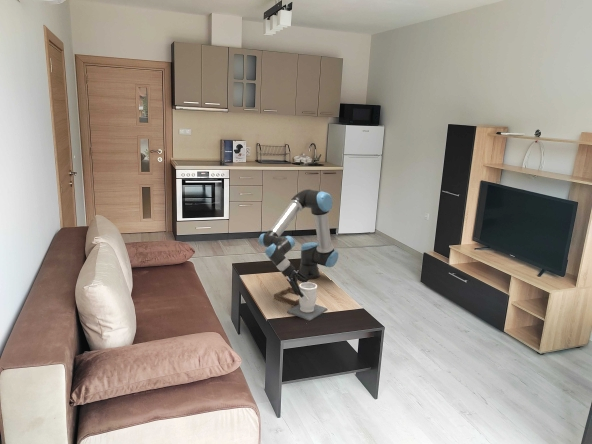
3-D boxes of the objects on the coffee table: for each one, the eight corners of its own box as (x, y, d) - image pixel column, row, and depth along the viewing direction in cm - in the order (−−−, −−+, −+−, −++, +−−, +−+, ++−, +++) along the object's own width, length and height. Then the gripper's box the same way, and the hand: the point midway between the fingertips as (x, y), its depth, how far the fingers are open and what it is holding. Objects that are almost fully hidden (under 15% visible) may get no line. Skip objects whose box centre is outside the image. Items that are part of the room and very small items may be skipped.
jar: (314, 314, 255) (315, 290, 251) (296, 312, 257) (297, 287, 253) (317, 306, 265) (318, 282, 261) (300, 304, 267) (301, 280, 263)
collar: (289, 291, 288) (289, 286, 287) (310, 298, 279) (310, 293, 278) (273, 298, 276) (273, 294, 275) (295, 306, 267) (295, 301, 266)
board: (305, 302, 273) (305, 300, 273) (327, 310, 264) (327, 308, 264) (286, 312, 259) (286, 310, 259) (309, 320, 250) (309, 319, 250)
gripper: (287, 264, 272) (310, 291, 272) (274, 279, 248) (299, 308, 248) (296, 257, 269) (319, 284, 269) (283, 271, 246) (309, 301, 246)
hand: (310, 296), depth 259 cm, fingers open, 13 cm apart
